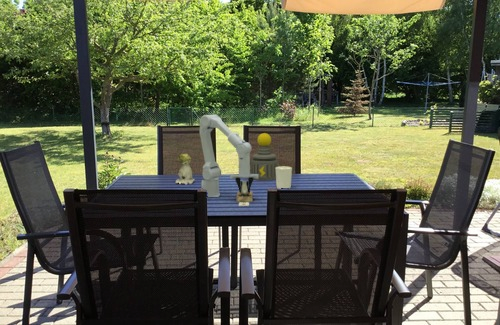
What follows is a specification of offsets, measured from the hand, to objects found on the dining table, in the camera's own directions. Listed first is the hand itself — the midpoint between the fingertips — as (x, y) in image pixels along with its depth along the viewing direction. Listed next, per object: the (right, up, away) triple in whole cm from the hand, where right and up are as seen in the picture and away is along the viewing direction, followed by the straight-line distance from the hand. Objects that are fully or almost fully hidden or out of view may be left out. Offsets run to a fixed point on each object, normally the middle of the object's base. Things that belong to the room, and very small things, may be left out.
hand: (244, 192), depth 216 cm
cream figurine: (-39, +2, +48) cm, 62 cm away
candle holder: (+23, 0, +30) cm, 38 cm away
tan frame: (0, -4, +4) cm, 6 cm away
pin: (0, -2, 0) cm, 2 cm away
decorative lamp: (+12, +5, +60) cm, 61 cm away
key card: (0, -6, -8) cm, 10 cm away
